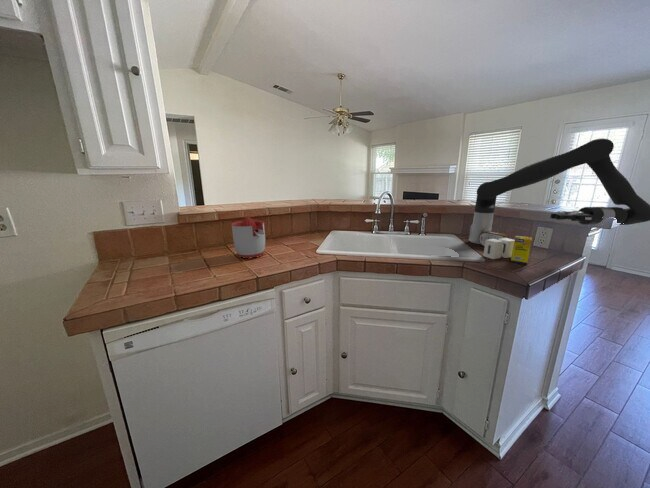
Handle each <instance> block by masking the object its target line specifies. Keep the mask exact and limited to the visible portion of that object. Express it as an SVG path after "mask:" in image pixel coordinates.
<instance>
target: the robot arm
mask: <svg viewBox="0 0 650 488" xmlns="http://www.w3.org/2000/svg"><path fill="white" fill-rule="evenodd" d="M614 146H615V145H614V143H613V141H612V140H611V139H609V138H603V137H601V138H595V139H592V140H589V141H588V142H586V143H584V144H582V145H579V146H578V147H576V148H573V149H571V150H569V151H567V152H564V153H562V154H558V155H555V156H551V157H548V158H546V159H545V158H544V159H543V160H539V161H537V162H534V163H532V164H529V165H526V166H524V167H522V168H520V169H518V170H516V171H514V172H512V173H510V174H509V175H506V176H504V177H500V178H498V179H494V180H492V181H486V182H483V183H481V184H480V185H479V186H478V187H477V190H476V201H475V204H474V211H473V212H474V213H473V221H472V224H470V229H469V236H468V242H470V243H472V244H475V245H477V244H478V245H481V244H480V243H479V235H480V234H481V233H483V232H485V231H492V227H493V222H494V214H495V210H496V204H497V203H496V201H497V197H498V196H500V195H502V194H505V193H508V192H510V191H514V190H516V189H520V188H524V187H527V186H531V185H534V184H537V183H540V182H542V181H546V180H548V179H550V178H552V177H555V176H557V175H559V174H561V173H563V172H566V171H568V170H570V169H572V168H575V167H578V166H582V165H585V164H586V165H587V166H588V167H589V168H590V169H591V171H592V172H593V173H594V175H596V177H597V178H598V179H599V181H600V183H601V184H602V187H603V188H604V190H605V192H606V193H607V195H608V197H609V198H610V200H611V201H612V202H613V204H614V205H617V206H612V207H611V206H610V207H609V206H584V207H581V208H579V210H572V211H568V210H567V211H566V210H560V211H557V212H553V213H551V214H550V219H554V220H561V221H562V220H563V221H565V220H566V221H572V222H577V223H579V224H580V225H583V226H584V225H585V226H591V225H592V226H593V225H595V226H596V225H597V226H598V224H600V223H602V222H603V221H604V220H605V219H606V218H609V217H614V218H616V219H617V223H621V224H618V225H620V226H627V225H628V226H629V225H634V224H639V223H646V222H650V204H649V203H648V202H647V201H645V200H644V199H643V198H642V197H641V196H640V195H638V193H637V192H636V191H635V189H634V188H633V186H632V185H631V183H630V182H629V180H628V179H627V178H626V177H625V176H624V174H622V173H621V172H620V171H619V170H618V169H617V167H616V166H615V165H614V163H613V161H612V159H611V157H610V156H611V155H610V154H611V153H612V152H613V150H614V148H615V147H614ZM619 206H626V207H628V208H624V207H619ZM602 217H603V218H602ZM623 223H624V224H623Z"/></svg>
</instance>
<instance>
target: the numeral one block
mask: <svg viewBox="0 0 650 488" xmlns="http://www.w3.org/2000/svg"><path fill="white" fill-rule="evenodd" d="M503 242H504V241H500V240H496V239H488V240H486V241H485V246H483V247H484V249H483V253H482V254H483V255H482V257H485V258H488V259H491V260H495V259H496V260H497V259H500V258H502V257H501V254H502V248H503Z"/></svg>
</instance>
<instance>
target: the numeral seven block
mask: <svg viewBox="0 0 650 488" xmlns="http://www.w3.org/2000/svg"><path fill="white" fill-rule="evenodd" d="M498 240H500V241H504V242H503V248H502V254H501V258H505V259H507V258H511V256H512V251H513V246H514V241H515V239H514V238H513V239H512V238H510V239H509V238H501V239H498Z"/></svg>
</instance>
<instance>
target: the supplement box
mask: <svg viewBox="0 0 650 488" xmlns="http://www.w3.org/2000/svg"><path fill="white" fill-rule="evenodd" d="M514 240H515V241H514V246H513V251H512V256H511V257H510V262H511V263H516V264H520V265H521V264H522V265H523V264H524V265H527V264H528V261H529V257H530V252H531V247H532V242H533V237H531V236H530V237H529V236H523V235H515V236H514Z"/></svg>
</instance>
